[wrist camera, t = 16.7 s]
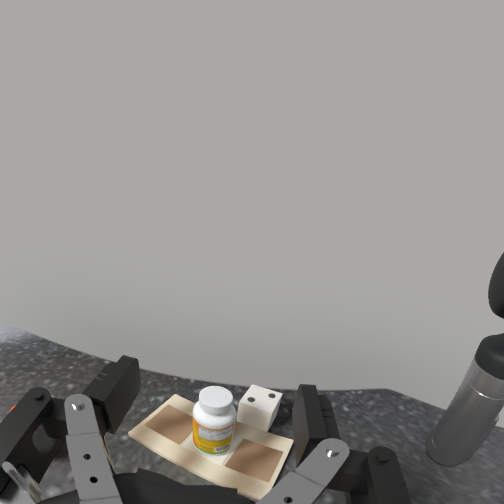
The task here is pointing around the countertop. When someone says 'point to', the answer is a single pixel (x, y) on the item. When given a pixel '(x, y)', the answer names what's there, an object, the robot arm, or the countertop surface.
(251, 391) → the die
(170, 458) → the board
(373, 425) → the countertop surface
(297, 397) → the robot arm
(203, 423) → the supplement bottle
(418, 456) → the countertop surface
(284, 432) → the countertop surface
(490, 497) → the countertop surface
